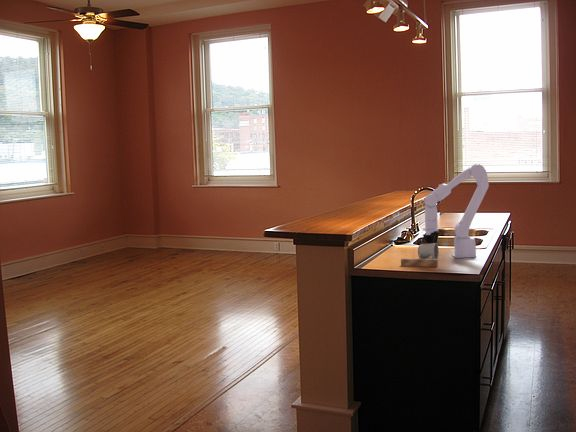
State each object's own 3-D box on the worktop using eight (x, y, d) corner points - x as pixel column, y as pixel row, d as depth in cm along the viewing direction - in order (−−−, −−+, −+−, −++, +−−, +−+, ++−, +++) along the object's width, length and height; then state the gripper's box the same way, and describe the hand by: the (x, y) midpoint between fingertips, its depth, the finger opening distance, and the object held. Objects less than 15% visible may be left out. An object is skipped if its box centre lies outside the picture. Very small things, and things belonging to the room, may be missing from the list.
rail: (401, 265, 290) (400, 259, 289) (402, 264, 291) (402, 258, 291) (436, 266, 283) (436, 260, 282) (437, 266, 284) (437, 259, 284)
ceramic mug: (422, 257, 307) (421, 241, 306) (439, 258, 303) (438, 242, 302) (415, 261, 298) (414, 245, 297) (432, 262, 294) (432, 245, 293)
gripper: (426, 218, 316) (427, 245, 317) (418, 221, 303) (419, 250, 304) (441, 218, 313) (441, 245, 314) (434, 221, 300) (434, 250, 301)
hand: (432, 248), depth 309 cm, fingers open, 7 cm apart
